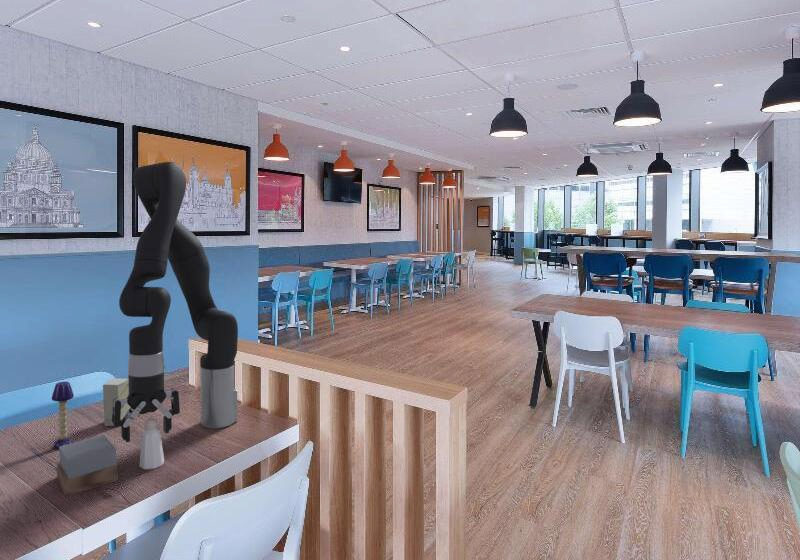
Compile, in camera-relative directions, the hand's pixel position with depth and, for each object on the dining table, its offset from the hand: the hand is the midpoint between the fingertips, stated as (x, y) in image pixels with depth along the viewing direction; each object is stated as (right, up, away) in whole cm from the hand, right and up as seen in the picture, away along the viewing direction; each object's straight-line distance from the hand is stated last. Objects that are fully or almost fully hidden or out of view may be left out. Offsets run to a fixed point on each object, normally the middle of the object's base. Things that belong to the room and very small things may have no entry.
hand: (147, 436), depth 118 cm
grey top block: (-10, -4, -7) cm, 13 cm away
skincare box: (-21, -4, +24) cm, 32 cm away
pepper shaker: (+1, -7, +1) cm, 7 cm away
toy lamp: (-26, -5, +9) cm, 28 cm away
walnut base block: (-10, -8, -6) cm, 14 cm away
